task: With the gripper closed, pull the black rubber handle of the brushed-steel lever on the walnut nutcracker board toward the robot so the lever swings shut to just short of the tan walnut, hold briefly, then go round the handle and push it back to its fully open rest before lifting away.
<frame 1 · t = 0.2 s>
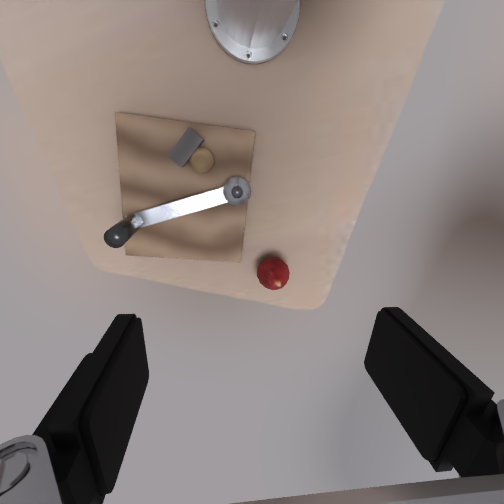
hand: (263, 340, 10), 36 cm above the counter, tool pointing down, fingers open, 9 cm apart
lever: (185, 210, 37), point 7 cm above the counter, hinge at -18.0°
onion: (269, 264, 50), on the counter
cracker board: (187, 195, 43), on the counter
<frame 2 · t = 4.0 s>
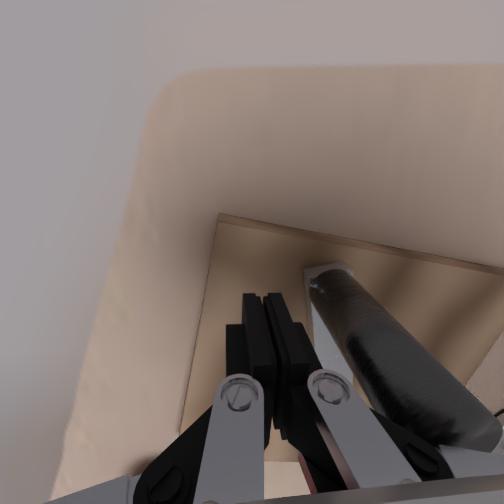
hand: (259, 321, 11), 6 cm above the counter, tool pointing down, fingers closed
lever: (360, 455, 14), point 7 cm above the counter, hinge at -18.3°, touching gripper
cracker board: (331, 357, 21), on the counter
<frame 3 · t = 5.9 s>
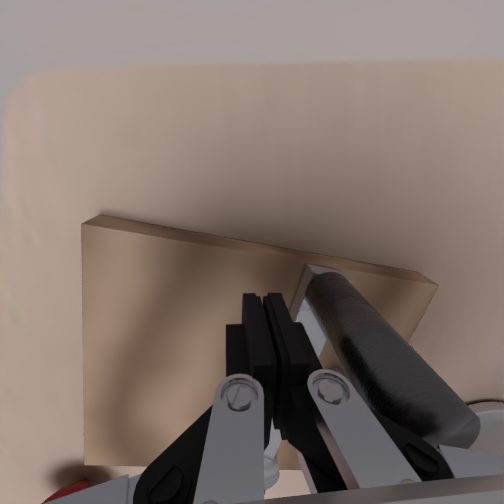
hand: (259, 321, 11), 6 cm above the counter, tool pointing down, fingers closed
lever: (293, 458, 14), point 7 cm above the counter, hinge at -42.1°, touching gripper
onion: (85, 477, 24), on the counter
cracker board: (244, 361, 20), on the counter
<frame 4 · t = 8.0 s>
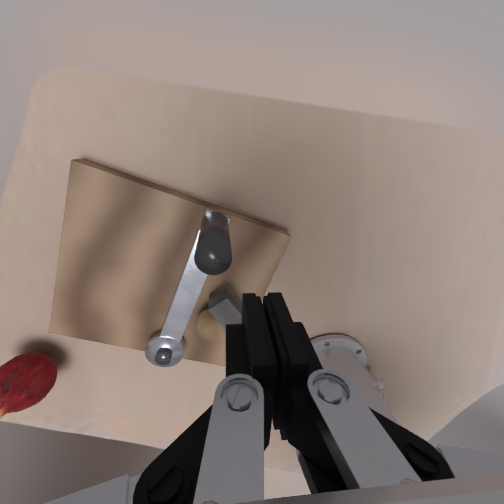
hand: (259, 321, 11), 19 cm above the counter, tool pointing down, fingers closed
lever: (182, 317, 24), point 7 cm above the counter, hinge at -42.2°
onion: (46, 354, 33), on the counter
cracker board: (170, 276, 30), on the counter
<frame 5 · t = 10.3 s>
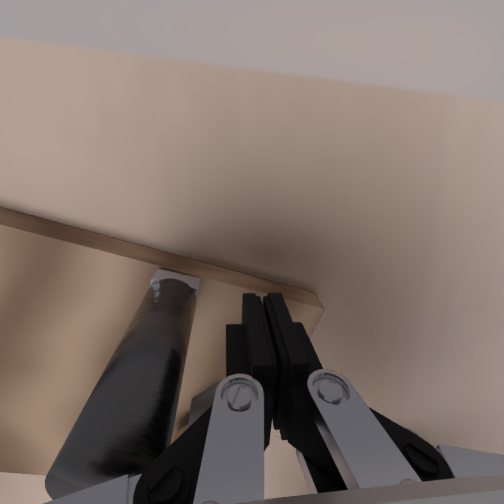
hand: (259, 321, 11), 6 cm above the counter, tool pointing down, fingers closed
lever: (122, 479, 13), point 7 cm above the counter, hinge at -38.6°, touching gripper
cracker board: (131, 368, 19), on the counter
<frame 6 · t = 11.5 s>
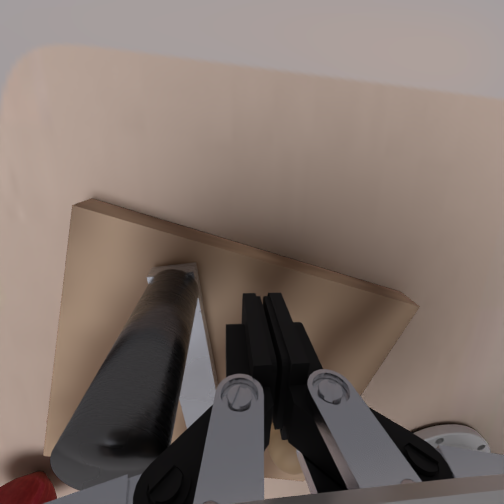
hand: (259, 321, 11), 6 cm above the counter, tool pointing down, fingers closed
lever: (194, 467, 14), point 7 cm above the counter, hinge at -15.6°, touching gripper
onion: (42, 469, 23), on the counter
cracker board: (222, 363, 20), on the counter
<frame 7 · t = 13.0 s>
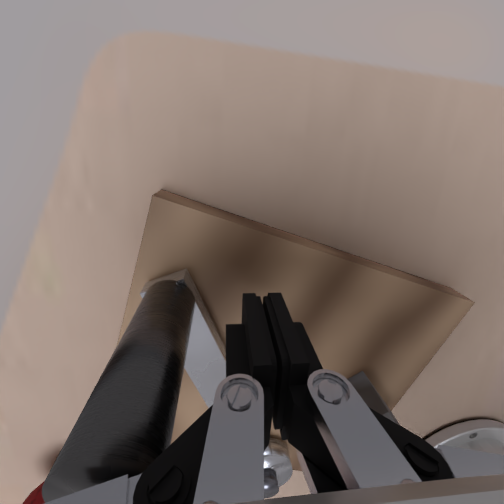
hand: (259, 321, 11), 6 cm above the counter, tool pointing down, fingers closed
lever: (230, 468, 14), point 7 cm above the counter, hinge at -1.2°, touching gripper
onion: (82, 463, 23), on the counter
cracker board: (271, 357, 20), on the counter
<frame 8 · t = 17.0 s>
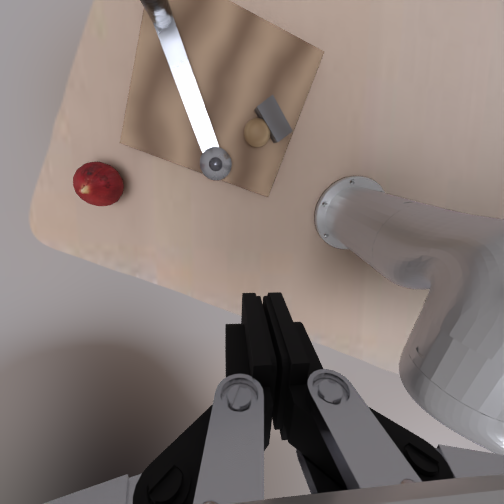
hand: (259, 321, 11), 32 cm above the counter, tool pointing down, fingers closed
lever: (189, 95, 29), point 7 cm above the counter, hinge at -1.2°
onion: (111, 181, 38), on the counter
cracker board: (220, 100, 35), on the counter
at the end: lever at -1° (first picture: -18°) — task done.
